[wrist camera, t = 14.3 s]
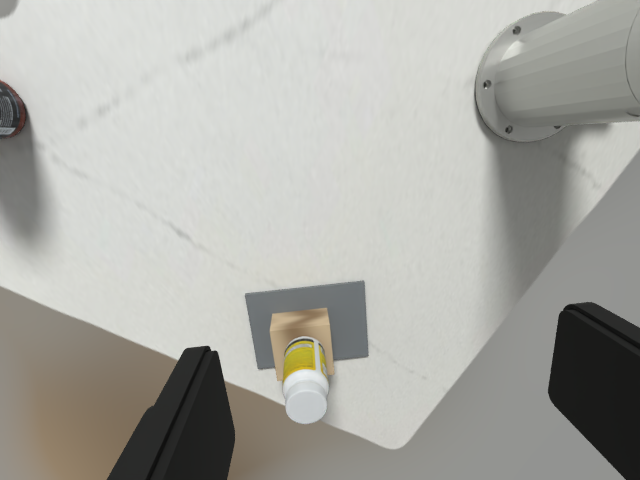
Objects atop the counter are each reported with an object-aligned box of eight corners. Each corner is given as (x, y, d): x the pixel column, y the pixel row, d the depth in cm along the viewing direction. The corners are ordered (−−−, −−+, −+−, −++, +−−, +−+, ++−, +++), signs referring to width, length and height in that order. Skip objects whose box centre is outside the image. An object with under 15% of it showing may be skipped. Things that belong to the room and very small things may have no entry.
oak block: (326, 307, 42) (329, 324, 38) (331, 353, 44) (334, 374, 40) (272, 313, 41) (269, 331, 38) (279, 360, 44) (277, 381, 40)
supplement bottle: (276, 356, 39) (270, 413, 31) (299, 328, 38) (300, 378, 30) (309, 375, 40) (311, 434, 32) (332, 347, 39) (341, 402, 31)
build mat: (363, 280, 41) (364, 282, 41) (367, 354, 45) (368, 355, 44) (245, 293, 41) (245, 295, 40) (258, 366, 44) (257, 368, 44)
